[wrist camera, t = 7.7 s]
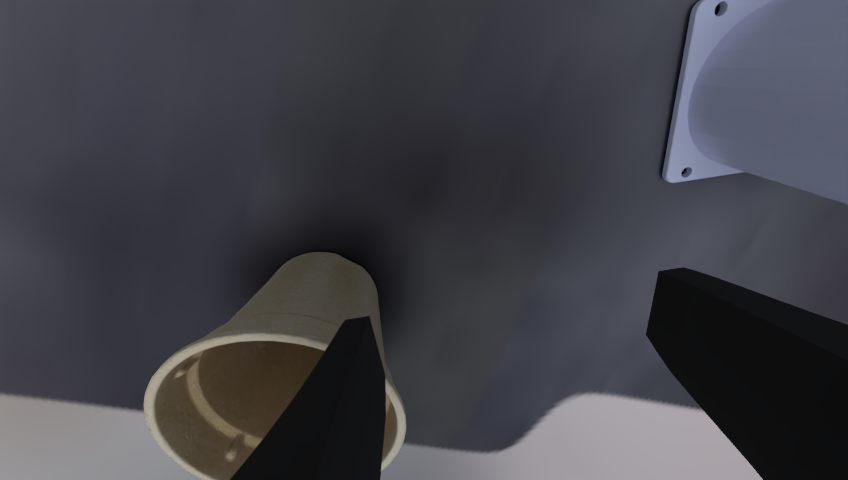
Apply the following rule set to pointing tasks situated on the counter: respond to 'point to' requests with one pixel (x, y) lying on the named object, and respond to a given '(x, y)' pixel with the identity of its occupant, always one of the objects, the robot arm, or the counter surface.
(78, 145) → the counter surface
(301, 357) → the flower pot
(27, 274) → the counter surface
